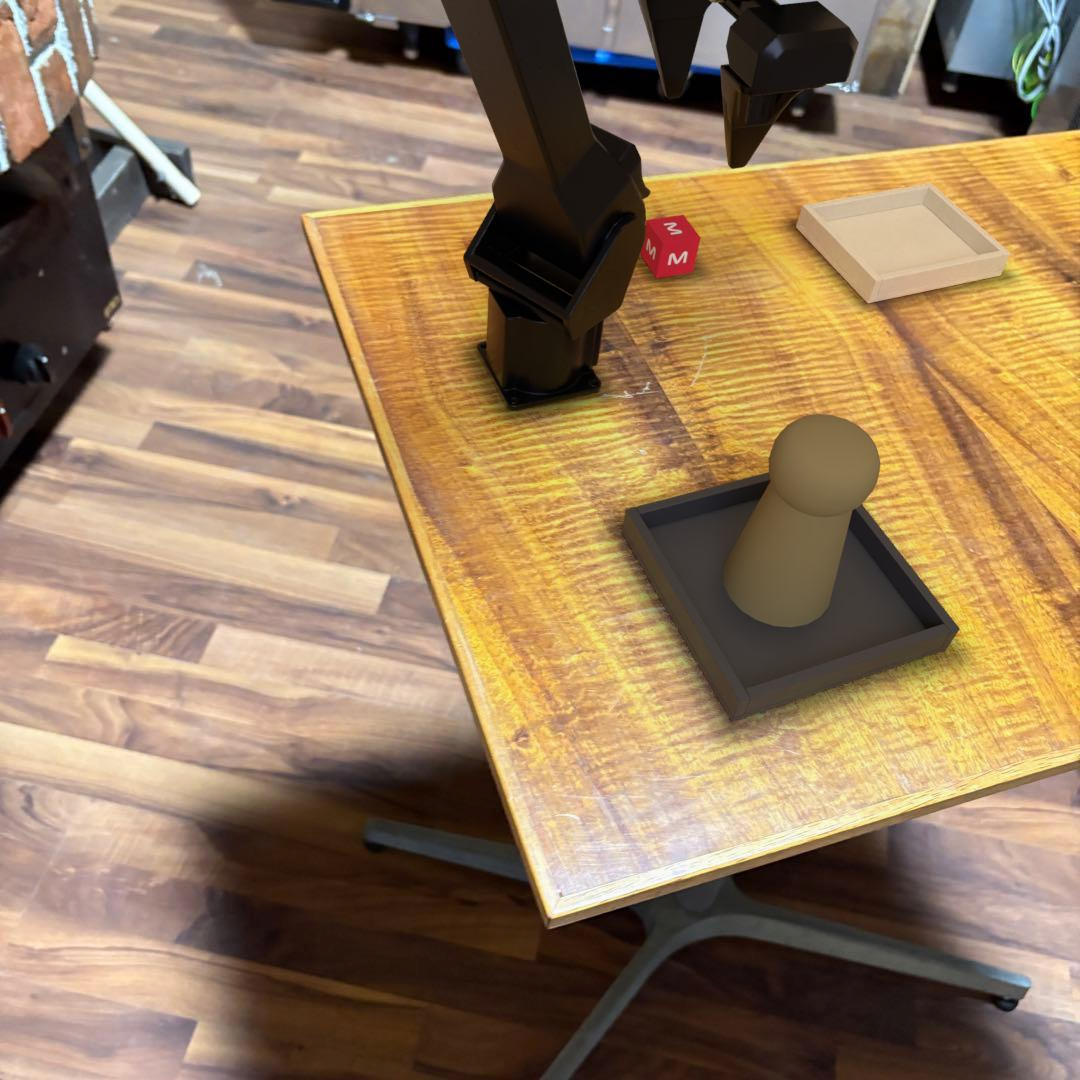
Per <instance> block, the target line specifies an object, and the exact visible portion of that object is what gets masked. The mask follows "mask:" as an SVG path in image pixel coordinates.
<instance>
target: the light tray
mask: <svg viewBox="0 0 1080 1080" xmlns="http://www.w3.org/2000/svg"><path fill="white" fill-rule="evenodd" d="M795 228H796V229H797V231H799V233H801V235H802V236H803V237H804V238H805V239H806V240H807V241H808V242H809V243H810V244H811V245H812V246H813V247H814V248H815V249H816V250H817V251H818V253H819V254H820V255H821V256H822V257H823V258H824V259H825V260H826V261H827V262H828V263H829V264H830V265H831V266H832V267H833V268H834V270H836V272H837V273H838V274H839V275H840V276H841V277H842V278H843V279H844V280H845V281H846V283H848V285H850V286H851V288H852V289H853V290H854V291H855V292H856V293H857V294H858V296H860V297H861V298H862V299H863V300H864V301H865V303H867V304H872V303H876V302H881V301H886V300H891V299H896V298H900V297H905V296H909V295H915V294H920V293H924V292H928V291H929V292H930V291H933V290H938V289H944V288H948V287H952V286H953V287H954V286H957V285H961V284H968V283H971V282H976V281H981V280H985V279H991V278H996V277H1000V276H1002V274H1003V271H1004V269H1005V267H1006V266H1007V263H1008V261H1009V259H1010V257H1011V255H1012V253H1011V252H1010V251H1009V250H1008V249H1007V248H1006V247H1005V246H1004V245H1002V244H1001V243H1000V242H999V241H998V240H997V239H995V238H994V237H993V236H992V235H991V234H990V233H989V232H987V231H986V230H985V229H984V228H983V227H982V226H981V225H980V224H979V223H977V222H976V221H975V220H974V218H973V219H972V217H970V215H968V214H967V213H966V212H965V211H964V210H962V209H961V208H960V207H959V206H958V205H957V204H955V203H954V202H953V201H952V199H950V198H949V197H948V196H947V195H946V194H944V193H943V192H942V191H941V190H940V189H938V187H937V186H935V185H934V184H933V183H932V182H928V183H922V184H916V185H909V186H906V187H905V186H904V187H898V188H893V189H888V190H880V191H876V192H870V193H863V194H858V195H853V196H846V197H840V198H836V199H835V198H834V199H830V200H824V201H818V202H812V203H806V204H802V205H801V209H800V211H799V215H798V218H797V222H796V226H795Z"/></svg>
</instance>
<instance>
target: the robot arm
mask: <svg viewBox="0 0 1080 1080" xmlns="http://www.w3.org/2000/svg"><path fill="white" fill-rule="evenodd" d="M637 2H638V6H639V9H640V12H641V15H642V18H643V21H644V25H645V28H646V31H647V35H648V38H649V39H648V40H649V42H650V45H651V48H652V52H653V56H654V60H655V63H656V68H657V70H658V75H659V78H660V81H661V86H662V90H663V92H664V96H666V98H668V99H676V98H680V97H682V95H683V93H684V90H685V87H686V83H687V81H688V78H689V74H690V72H691V69H692V68H691V67H692V63H693V60H694V57H695V52H696V49H697V44H698V40H699V38H700V33H701V29H702V25H703V21H704V17H705V14H706V12H707V10H708V9H709V8H710V6H711V5H712V4H713V3H714V4H715V3H716V4H717V3H718V4H719V5H720V6H721V7H722V8H723V9H724V10H725V11H726V12H727V13H728V14H729V15H730V16H732V17H733V19H735V21H734V22H733V23H732V24H731V25H730V26H729V29H728V34H727V37H726V43H725V44H726V45H725V49H726V55H727V60H728V63H725V64H721V65H720V66H719V67H720V69H719V70H720V71H719V72H720V86H721V96H722V97H721V98H722V99H721V100H722V111H723V112H722V113H723V115H722V116H723V127H724V129H723V130H724V143H725V151H726V159H727V161H726V162H727V166H728V167H729V168H730V169H732V170H734V169H742V168H745V167H746V166H748V163H749V162H750V160H751V159H752V157H753V156H754V154H755V153H756V151H757V150H758V148H759V147H760V145H761V143H763V140H764V139H765V138H766V136H767V135H768V133H769V131H771V129H772V127H773V126H774V124H775V122H776V121H777V119H778V118H779V117H780V115H781V114H782V112H784V110H785V109H786V108H787V106H788V105H789V104H790V103H791V102H792V100H793V99H794V98H796V96H797V95H799V94H801V92H804V91H805V90H812V89H818V88H819V89H820V88H825V87H826V86H827V85H834V84H842V83H846V82H847V80H848V79H849V77H850V73H851V70H852V67H853V64H854V61H855V58H856V57H855V56H856V54H857V50H858V48H859V44H860V42H859V40H858V39H857V37H856V36H855V34H854V32H853V30H852V29H851V27H850V26H848V24H846V23H845V22H844V21H843V20H841V19H840V18H839V17H838V16H836V15H835V14H834V13H833V12H832V11H831V10H830V9H828V8H827V7H826V6H824V5H823V4H822V3H820V1H818V0H813V1H803V2H802V1H801V2H792V3H783V4H780V3H779V2H778V1H777V0H637ZM440 3H441V5H442V7H443V10H444V12H445V14H446V18H447V20H448V22H449V25H450V27H451V30H452V33H453V35H454V37H455V40H456V42H457V45H458V47H459V49H460V52H461V54H462V57H463V59H464V62H465V64H466V68H467V69H468V72H469V74H470V77H471V79H472V83H473V85H474V87H475V90H476V92H477V95H478V98H479V99H480V103H481V104H482V107H483V109H484V112H485V114H486V117H487V119H488V123H489V125H490V128H491V129H492V132H493V135H494V137H495V140H496V142H497V144H498V147H499V149H500V153H501V155H502V161H501V164H500V165H499V168H498V170H497V171H496V174H495V175H494V179H493V181H492V182H491V191H492V196H493V203H492V204H491V206H490V208H489V209H488V211H487V213H486V214H485V216H484V218H483V220H482V222H481V224H480V225H479V227H478V229H477V230H476V232H475V234H474V235H473V238H472V239H471V241H470V243H469V244H468V246H467V248H466V250H465V251H464V253H463V257H462V260H463V264H464V266H465V269H466V272H467V275H468V278H469V279H470V280H471V281H473V282H476V283H480V284H482V285H483V286H485V287H487V288H488V290H487V293H488V294H487V321H486V341H481V342H479V343H478V344H477V345H476V353H477V355H478V358H479V359H480V361H481V363H482V365H483V367H484V369H485V370H486V372H487V374H488V376H489V378H490V380H491V382H492V384H493V385H494V387H495V389H496V391H497V392H498V394H499V396H500V398H501V400H502V402H503V404H504V406H505V407H506V408H507V409H508V410H509V411H511V412H512V411H513V412H516V411H517V412H518V411H521V410H526V409H530V408H535V407H539V406H543V405H544V406H545V405H548V404H552V403H557V402H562V401H567V400H573V399H576V398H580V397H584V396H590V395H593V394H598V393H600V392H601V389H602V381H601V380H600V378H599V377H598V375H597V373H596V372H595V370H594V369H593V367H596V366H598V364H599V361H600V353H601V346H602V339H603V332H604V326H605V319H607V318H608V317H610V316H611V315H613V314H614V313H616V312H617V311H618V310H620V309H621V307H622V305H623V302H624V300H625V296H626V295H627V292H628V288H629V286H630V283H631V280H632V278H633V275H634V272H635V269H636V267H637V264H638V261H639V258H640V256H641V250H642V247H643V244H644V241H645V237H646V220H647V209H646V204H645V201H644V200H645V199H646V198H649V196H650V195H651V189H650V188H648V187H647V186H646V184H645V181H644V178H643V167H642V156H641V155H640V152H639V150H638V148H637V146H636V145H635V143H632V142H630V141H628V140H627V139H625V138H622V137H620V136H618V135H616V134H614V133H612V132H610V131H608V130H606V129H604V128H602V127H600V126H598V125H596V124H593V123H592V122H590V118H589V114H588V111H587V107H586V103H585V100H584V96H583V93H582V89H581V85H580V81H579V77H578V74H577V70H576V66H575V63H574V58H573V56H572V51H571V49H570V45H569V41H568V38H567V34H566V30H565V26H564V21H563V19H562V15H561V12H560V8H559V3H558V0H440Z"/></svg>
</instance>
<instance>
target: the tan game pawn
mask: <svg viewBox="0 0 1080 1080" xmlns="http://www.w3.org/2000/svg"><path fill="white" fill-rule="evenodd" d="M881 463H882V462H881V459H880V453H879V450H878V447H877V445H876V443H875V442H874V440H873V439H872V436H871V435H870V434H869V433H868V432H867V431H865V430H864V428H862V427H861V426H860V425H858V424H856V423H855V422H853V421H851V420H848V419H846V418H844V417H840V416H836V415H834V414H826V413H825V414H823V413H816V414H815V413H814V414H808V415H804V416H802V417H800V418H797V419H795V420H793V421H791V422H790V423H788V424H786V426H785V427H784V428H783V429H782V430H781V431H780V432H779V433H778V435H776V437H775V439H774V441H773V444H772V447H771V450H770V454H769V457H768V472H769V474H770V480H771V481H770V483H769V485H768V487H767V489H766V490H765V492H764V494H763V496H762V497H761V499H760V501H759V503H758V505H757V506H756V508H755V510H754V512H753V513H752V515H751V517H750V519H749V521H748V522H747V524H746V526H745V528H744V529H743V531H742V533H741V535H740V537H739V538H738V540H737V542H736V544H735V545H734V547H733V549H732V551H731V553H730V554H729V556H728V558H727V560H726V563H725V566H724V569H723V583H724V587H725V589H726V591H727V593H728V595H729V597H730V599H731V600H732V601H733V602H734V603H735V604H736V605H737V606H738V607H739V609H740V610H741V611H743V612H744V613H746V614H748V615H749V616H751V617H752V618H754V619H755V620H757V621H760V622H763V623H766V624H769V625H772V626H780V627H796V626H801V625H806V624H809V623H811V622H812V621H814V620H816V619H818V618H820V617H821V616H822V614H823V613H824V612H825V611H826V609H827V608H828V607H829V603H830V599H831V595H832V591H833V587H834V583H835V579H836V575H837V571H838V567H839V563H840V559H841V555H842V551H843V546H844V542H845V538H846V534H847V530H848V526H849V522H850V518H851V514H852V510H854V509H856V508H858V507H859V506H860V505H861V504H862V505H863V503H864V502H865V501H866V500H867V499H868V498H869V496H870V495H872V493H873V492H874V490H875V488H876V486H877V484H878V480H879V476H880V472H881Z"/></svg>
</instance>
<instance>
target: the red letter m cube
mask: <svg viewBox="0 0 1080 1080" xmlns="http://www.w3.org/2000/svg"><path fill="white" fill-rule="evenodd" d="M645 225H646V237H645V241H644V244H643V247H642V250H641V253H640V256H641V258H642V259H643V261H644V263H646V265H647V267H648V269H649V270H650V271H651V273H652V274H653V276H654V277H655V278H656V279H659V278H667V277H673V276H679V275H685V274H692V273H694V270H695V265H696V261H697V256H698V251H699V247H700V242H701V236H700V235H699V233H698V232H697V231H696V229H695V228H694V227H693V225H692V224H691V223H690V221H689V220H688V219H687V217H686V216H685V215H684V214H679V215H672V216H665V217H657V218H651V219H646V224H645Z"/></svg>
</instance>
